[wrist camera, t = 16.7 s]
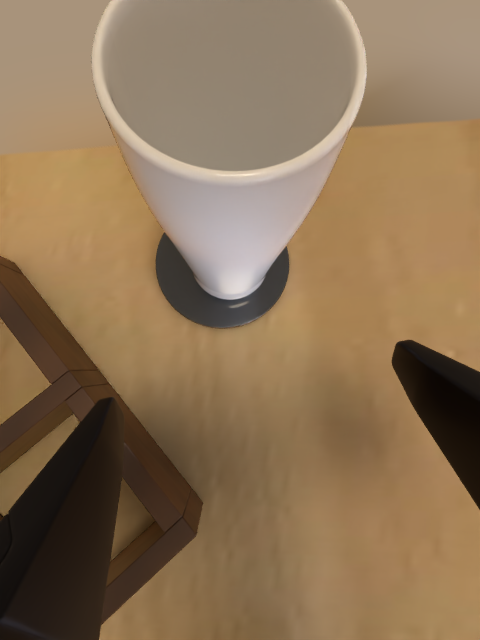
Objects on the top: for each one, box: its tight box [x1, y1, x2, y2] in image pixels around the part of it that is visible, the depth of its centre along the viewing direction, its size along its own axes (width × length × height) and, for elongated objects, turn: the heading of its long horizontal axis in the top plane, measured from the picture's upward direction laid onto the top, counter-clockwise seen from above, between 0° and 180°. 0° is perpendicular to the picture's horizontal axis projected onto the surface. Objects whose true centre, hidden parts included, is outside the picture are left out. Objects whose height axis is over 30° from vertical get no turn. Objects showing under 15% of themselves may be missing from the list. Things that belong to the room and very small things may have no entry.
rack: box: [0, 256, 203, 625], centre depth 18 cm, size 21×11×4 cm, turn 41°
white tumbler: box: [91, 0, 367, 300], centre depth 15 cm, size 7×7×15 cm
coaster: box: [156, 232, 289, 329], centre depth 22 cm, size 10×10×1 cm
